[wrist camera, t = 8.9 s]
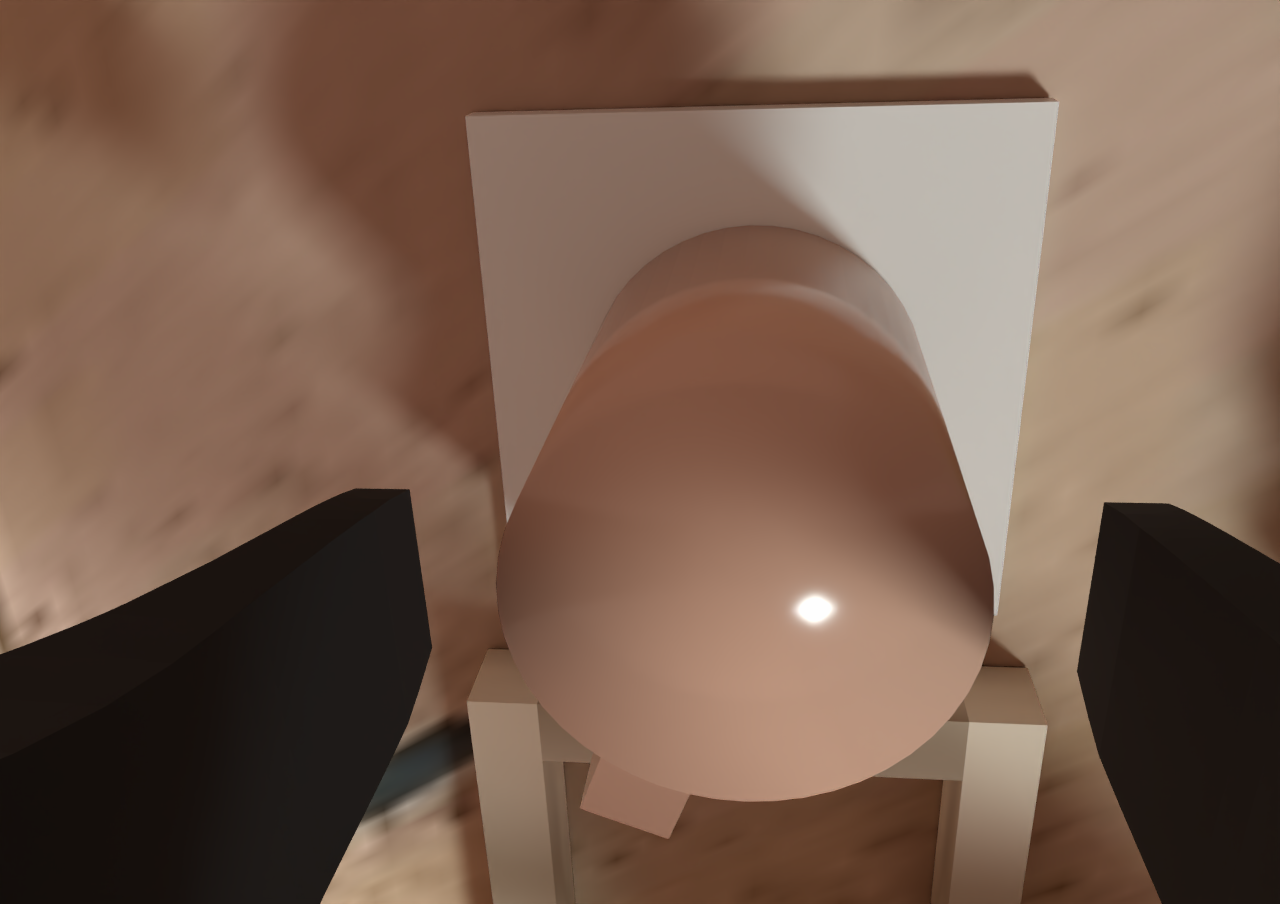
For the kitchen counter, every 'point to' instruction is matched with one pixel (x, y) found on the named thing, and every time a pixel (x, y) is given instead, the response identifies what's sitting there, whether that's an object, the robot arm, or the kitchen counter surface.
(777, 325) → the jug
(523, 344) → the tile
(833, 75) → the kitchen counter surface
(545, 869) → the empty picture frame
